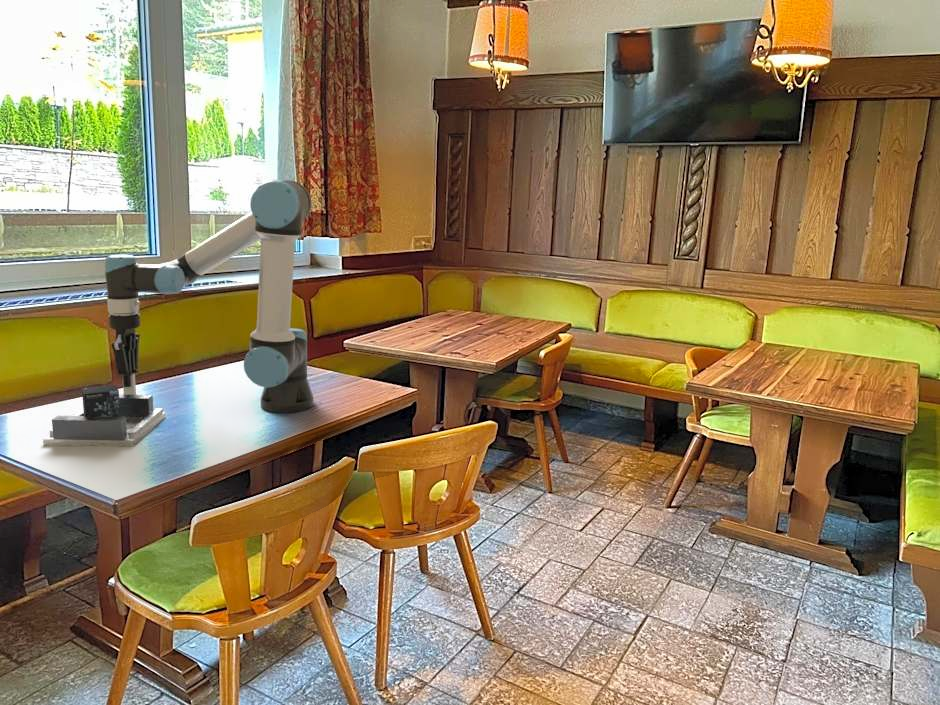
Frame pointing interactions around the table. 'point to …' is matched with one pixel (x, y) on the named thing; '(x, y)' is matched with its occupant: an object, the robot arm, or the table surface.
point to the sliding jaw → (136, 405)
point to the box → (101, 401)
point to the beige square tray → (101, 429)
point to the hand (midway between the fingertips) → (130, 396)
